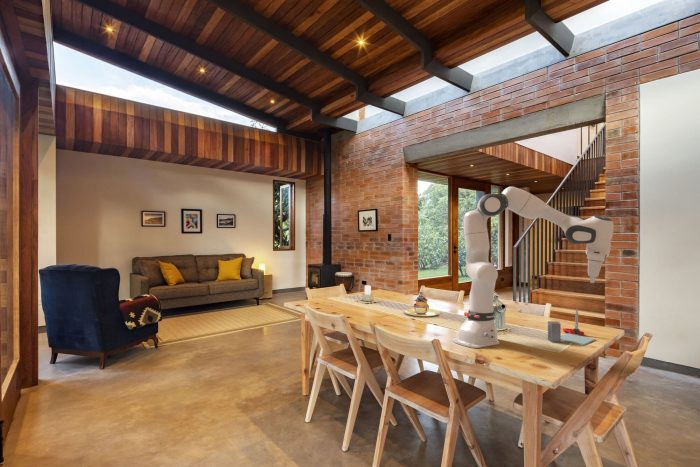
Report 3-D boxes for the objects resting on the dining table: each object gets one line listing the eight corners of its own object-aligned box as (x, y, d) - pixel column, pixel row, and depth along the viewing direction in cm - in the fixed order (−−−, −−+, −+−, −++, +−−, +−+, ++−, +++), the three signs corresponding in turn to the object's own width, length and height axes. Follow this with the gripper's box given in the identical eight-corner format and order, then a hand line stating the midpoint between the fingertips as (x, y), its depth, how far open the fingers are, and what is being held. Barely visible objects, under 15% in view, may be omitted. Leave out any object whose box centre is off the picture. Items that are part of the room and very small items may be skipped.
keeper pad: (583, 345, 160) (583, 344, 160) (556, 338, 169) (555, 337, 169) (595, 340, 167) (595, 339, 167) (568, 334, 177) (568, 333, 177)
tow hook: (559, 329, 185) (568, 333, 176) (560, 305, 186) (568, 308, 176) (576, 331, 184) (586, 335, 174) (577, 307, 184) (586, 309, 175)
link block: (560, 342, 164) (560, 323, 164) (551, 342, 165) (551, 323, 165) (556, 339, 168) (556, 321, 168) (547, 339, 169) (547, 321, 169)
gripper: (591, 242, 166) (587, 269, 170) (586, 256, 151) (582, 285, 155) (607, 244, 162) (603, 271, 166) (604, 259, 147) (599, 288, 151)
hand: (593, 278), depth 160 cm, fingers open, 8 cm apart
